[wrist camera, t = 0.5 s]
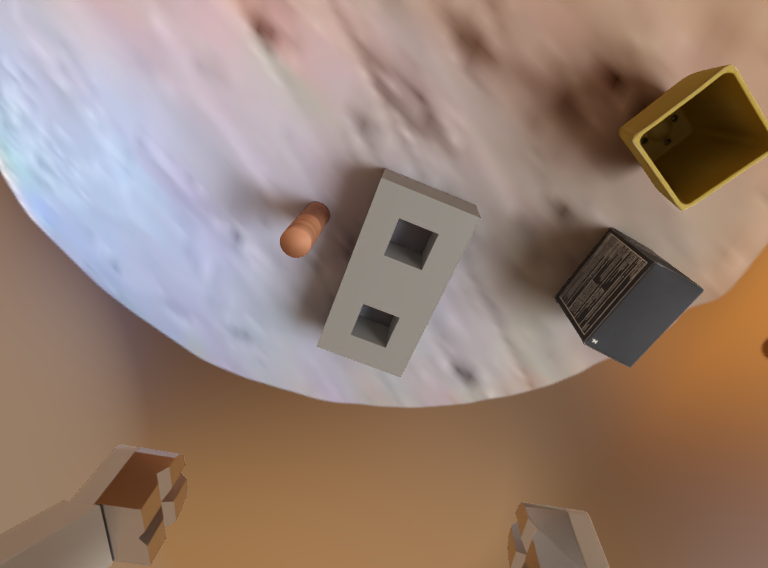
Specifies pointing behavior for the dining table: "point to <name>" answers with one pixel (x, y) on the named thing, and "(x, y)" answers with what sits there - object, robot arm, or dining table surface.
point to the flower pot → (698, 135)
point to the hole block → (397, 273)
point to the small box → (625, 297)
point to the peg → (305, 230)
